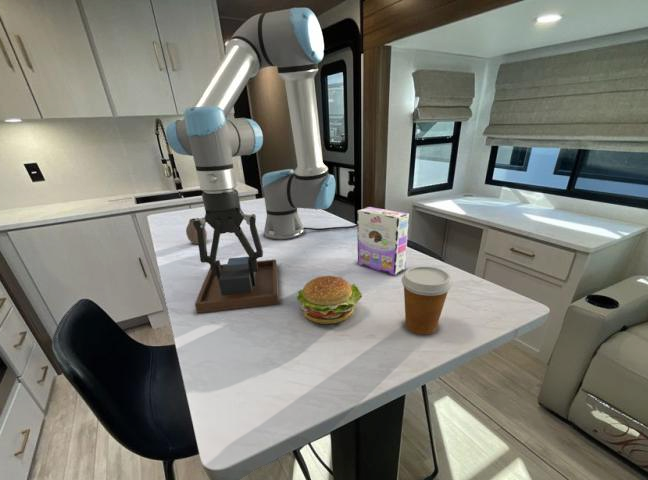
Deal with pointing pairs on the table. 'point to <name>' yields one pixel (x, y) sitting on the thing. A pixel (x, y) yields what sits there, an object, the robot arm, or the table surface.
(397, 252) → the candy box
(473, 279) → the table surface
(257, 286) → the brown wooden tray
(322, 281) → the food
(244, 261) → the pad
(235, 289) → the pad
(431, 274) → the disposable coffee cup
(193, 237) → the vase
